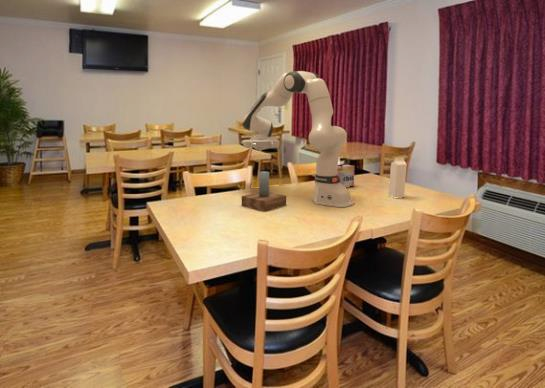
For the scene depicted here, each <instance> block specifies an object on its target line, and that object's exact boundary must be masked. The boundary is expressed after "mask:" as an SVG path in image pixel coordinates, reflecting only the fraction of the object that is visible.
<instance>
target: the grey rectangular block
mask: <svg viewBox="0 0 545 388" xmlns="http://www.w3.org/2000/svg"><path fill="white" fill-rule="evenodd" d="M258 192H259V196H260V197H268V196H269V192H270V171H264V170H261V171H259V172H258Z"/></svg>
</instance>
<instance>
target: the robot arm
mask: <svg viewBox="0 0 545 388" xmlns="http://www.w3.org/2000/svg"><path fill="white" fill-rule="evenodd" d="M328 89H329V88H328V86H327V83H326V82H325V80H323V78H320V76H319V75H318V74H317V73H315V72H312V71H304V70H298V71H297V70H296V71H295V70H293V71H289V72H283V74H282V75H281V76H280V77H279V79H278V80H277V81H276V83H275V85H274V86H273V87H272V89H271V90H270V91H268V92H264V93H262V95H261V96H260V97H259V98H258V100H256V102H255V103H254V105H253V106H252V107H251V108H250V110H248V112H247V113H245V115H244V116H243V119H242V122H241V126H242V127H243V129H244V130H247V131H250V132H253V134H252V135H251V136H250V138H249V139H243V141H242V142H241V144H242V145H243V148H254V149H255V150H257V151H263V150H269V149H274V148H279V147H280V140H279V139H277V138H275V137H274V136H272V135H273V131H274V125H273V122H272V121H271V120H268V119H266V118H264V117H261V116H258V113H260V111H261V110H262V109H263V108H264V107H277V108H278V107H279V108H281V107H283V106H286V105H287V104H288V103H289V102H290V100H291V98H292V97H293V95H294V94H297V93H298V94H306V96H307V101H308V105H309V108H310V109H309V110H310V114H311V129H310V130H311V131H310V132H309V135H308V143H309V145H310V146H311V147H312V148H315V149H318V150H320V152H319V155H318V157H317V158H316V164H315V165H316V167H315V174H314V183H315V184H314V191H313V195H312V198H311V201H312V202H313V203H314V204H315V205H321V206H322V205H323V206H329V207H335V208H347V207H351V206H353V205H354V203H355V200H352V198H351V193H350V190H349V189H348V188H345V187H344V186H343V185H342V184H341V183H340V179H341V178H342V177H339V176H338V175H337V170H338V165H339V157H340V154H341V151H342V147H343V145H344V144H345V142H346V140H347V137H348V135H347V132H346V130H345V129H344V128H343V127H340V126H337V125H332V117H333V115H334V109H333V104H332V100H331V96H330V92H329V90H328Z"/></svg>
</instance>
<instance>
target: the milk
mask: <svg viewBox="0 0 545 388" xmlns="http://www.w3.org/2000/svg"><path fill="white" fill-rule="evenodd" d="M407 166H408V164H407V163H406V161H405V158H404V157H394V159H393V161H392V162H391V163H390V173H389V184H388V196H389V195H390V196H393V197H405V189H406V188H405V187H406V177H407Z"/></svg>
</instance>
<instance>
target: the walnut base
mask: <svg viewBox="0 0 545 388" xmlns="http://www.w3.org/2000/svg"><path fill="white" fill-rule="evenodd" d="M241 206H242V207H246V208H249V209H253V210H256V211H257V210H258V211H262V212H265V213H266V212H268V211H272V210H277V209H279V208H282V207H285V206H287V195H285V194H281V193H275V192H271V191H269V196H268V197H260V196H259V191H257V192H253V193H249V194H245V195H241Z"/></svg>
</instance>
